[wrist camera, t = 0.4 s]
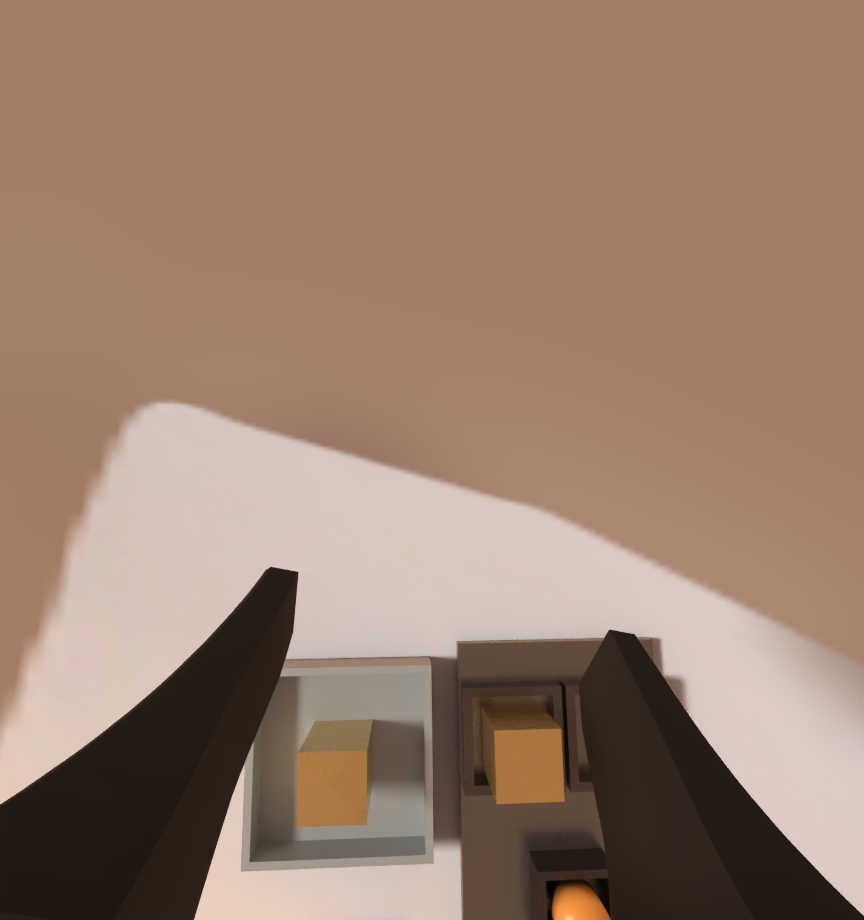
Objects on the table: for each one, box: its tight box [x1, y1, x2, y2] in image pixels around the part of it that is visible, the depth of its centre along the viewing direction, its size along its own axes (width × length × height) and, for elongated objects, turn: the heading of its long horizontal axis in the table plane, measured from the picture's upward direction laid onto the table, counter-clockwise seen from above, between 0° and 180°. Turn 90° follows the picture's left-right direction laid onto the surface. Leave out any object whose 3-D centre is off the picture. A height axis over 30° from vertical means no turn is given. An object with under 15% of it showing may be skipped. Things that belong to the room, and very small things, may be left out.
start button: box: [549, 879, 611, 920], centre depth 34 cm, size 3×3×2 cm
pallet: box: [457, 637, 653, 920], centre depth 37 cm, size 20×14×4 cm
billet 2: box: [481, 701, 565, 804], centre depth 35 cm, size 4×4×6 cm
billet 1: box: [297, 719, 373, 827], centre depth 35 cm, size 4×4×6 cm
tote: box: [241, 656, 434, 872], centre depth 37 cm, size 12×12×3 cm
